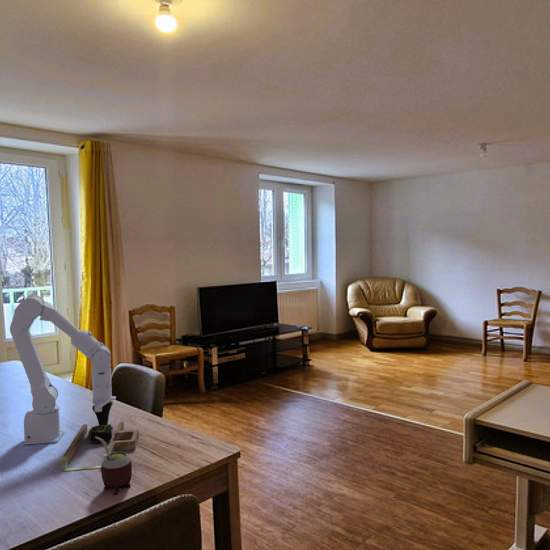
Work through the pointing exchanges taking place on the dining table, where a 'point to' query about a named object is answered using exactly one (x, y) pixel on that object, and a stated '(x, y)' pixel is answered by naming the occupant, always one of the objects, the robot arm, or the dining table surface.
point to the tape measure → (100, 433)
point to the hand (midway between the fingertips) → (103, 426)
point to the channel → (122, 442)
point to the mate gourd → (116, 470)
